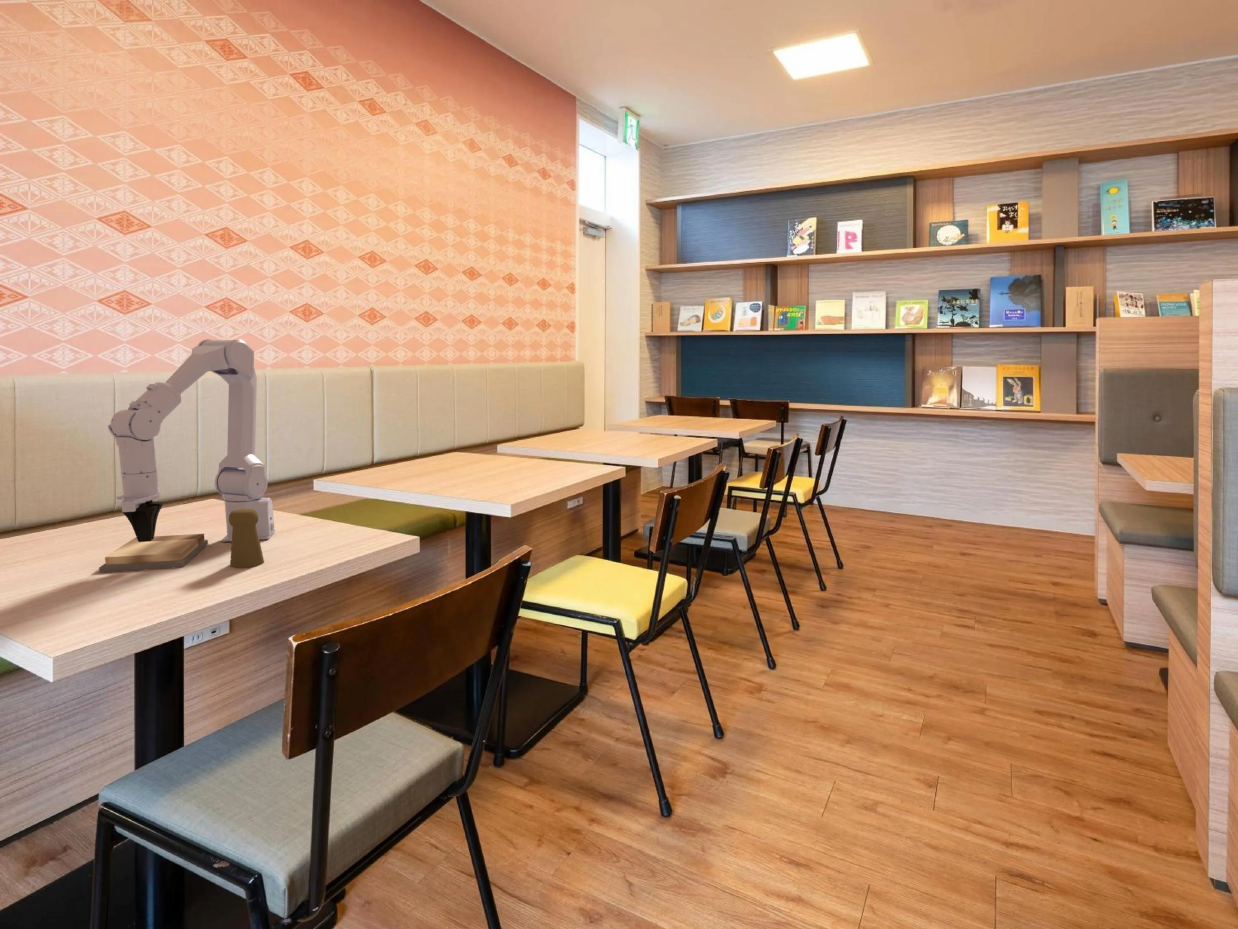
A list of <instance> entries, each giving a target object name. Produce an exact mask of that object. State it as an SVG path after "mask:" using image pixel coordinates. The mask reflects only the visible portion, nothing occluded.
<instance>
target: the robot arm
mask: <svg viewBox="0 0 1238 929" xmlns="http://www.w3.org/2000/svg"><path fill="white" fill-rule="evenodd" d="M208 372H212V373H214V374H215V375H217V376H219V377H220V378H222V379H223V380H224V381H225V382H226V383H227V384H228V404H227V405H228V406H227V407H228V412H227V446H226V447H227V451H226V452H227V453H226V456H224V458H223V459H222V460H220V462H219V463H218V470H217V474H216V475H215V479H214V487H215V490H216V492H218V493H219V494H220V495H221V499H222V500H224V509H225V510H224V511H225V523H226V534H227V535H225V536H224V537H223V538H222V539H221V542H223V543H227V542H232V531H233V527H232V526H231V525H230V523H229V515H230V513H231V512H232V511H234V510H237V509H242V508H250V509H254V510H256V511H257V513H258V517H259V518H258V522H257V524H256V527H257V532H258V536H259V541H260V540H261V541H262V540H269V539H270V538H271V537H272V536H273V535H274V533H275V532H276V529H275V519H274V506H273V501H272V498H270V497H264V494H265V493H266V491H267V489H268V482H269V481H268V477H267V475H266V471H265V470H266V469H265V468H266V467H265V466H266V465H265V463H263V462H262V460H260V459H259V458H258V457H257V456H256V431H257V430H256V429H257V428H256V427H257V426H256V424H257V390H258V389H257V388H258V387H257V381H258V380H257V373H256V371H255V351H254V350H253V349H252V348H251V346H250V345H249V344H248V343H247V342H246V341H244V340H243V339H239V338H238V339H237V338H235V339H209V338H208V339H207V338H206V339H202V340H201V341H200V342H198V344H197V345H196V346H194V347H192V349H191V354H190V355H189V357H187V358H186V359H185V361H183V363H181V364H180V366H179V367H178V368H177V369H176V370H175V371H174V372H173V373H172V375H170V377H169V378H168V379H167V380H166V381H164V382H161V381H159V382H154V383H149V384H148V385H147V386H145V389H146V391H144V392H143V393H142V394H141V395H140V396H139V397H138V398H137V399H136V400H132V401H131V402H130V403H129V406H128V408H127V409H121V410H119V411H117V412H115V413H114V414H113V416H112V418H111V420H110V424H108V425H107V427H108V430H109V433H110V434H111V436H112V437H114V439H115V443H116V446H117V447H118V455H119V463H120V464H119V466H120V474H121V475H120V476H121V483H122V484H121V485H122V494H118V495H116V500H118V501H119V500H120V501H121V500H122V501H121V502H120V504H121V512H122V513H123V515H124V516H125V517H126V518H127V520H128V521H129V523H130V525H131V526H132V529H133V531H134V534H135V537H137V540H138V542H149V541H152V540H153V539H154V536H155V533H156V527H157V520H158V517H159V513H160V511H161V510H162V507H163V501H153V500H157V499H160V498H161V497H162V495H161V488H160V487H159V483H158V481H159V480H158V470H157V461H156V451H155V450H156V449H155V441H154V438H155V437H156V436H158V435H159V433H160V431H161V426H162V423H163V421H164V420H165V419H166V418H167V417H168V416H169V415H170V414H171V413H172V412H173V411H174V410H175V409H176V408H177V407H179V405H180V404H181V403H182V396H181V395H182V394H183V393H184V392H185V391H186V390H187V389H189V388H190V387H191V386H192V385H194V383H196V382H197V381H198V380H199V379H200V378H202V377H203V376H204V375H205V374H207V373H208Z"/></svg>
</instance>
